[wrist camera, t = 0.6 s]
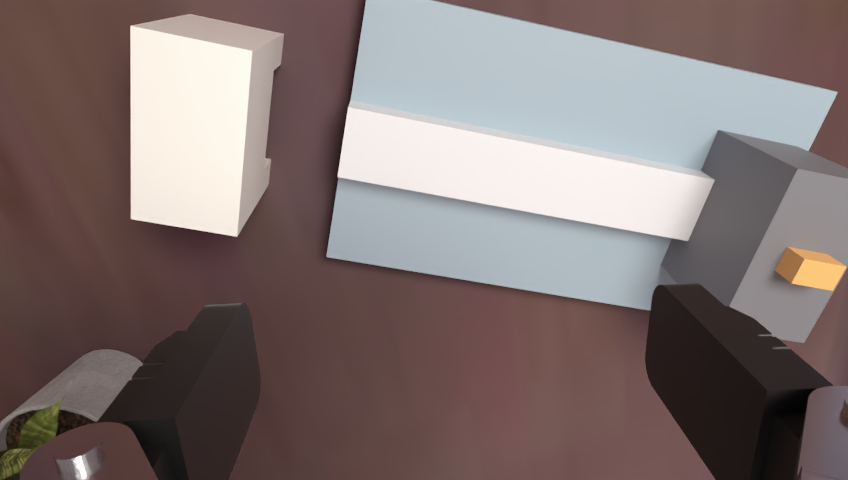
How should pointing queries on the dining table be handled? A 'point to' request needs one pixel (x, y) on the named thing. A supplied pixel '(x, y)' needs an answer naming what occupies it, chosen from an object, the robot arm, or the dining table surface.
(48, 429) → the house plant
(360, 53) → the rail board
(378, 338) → the dining table surface
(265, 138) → the din module
